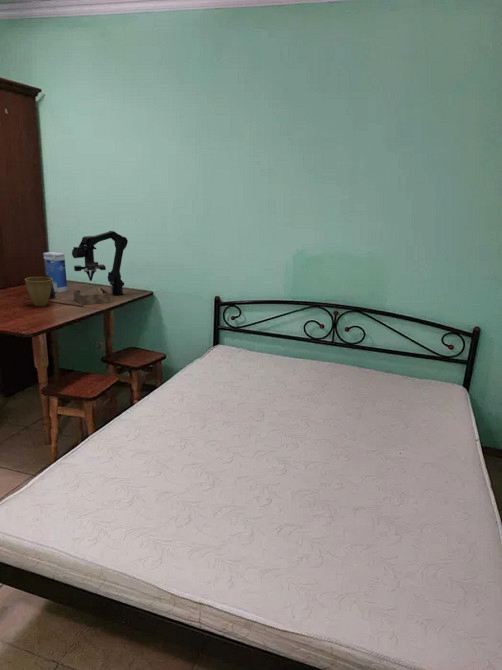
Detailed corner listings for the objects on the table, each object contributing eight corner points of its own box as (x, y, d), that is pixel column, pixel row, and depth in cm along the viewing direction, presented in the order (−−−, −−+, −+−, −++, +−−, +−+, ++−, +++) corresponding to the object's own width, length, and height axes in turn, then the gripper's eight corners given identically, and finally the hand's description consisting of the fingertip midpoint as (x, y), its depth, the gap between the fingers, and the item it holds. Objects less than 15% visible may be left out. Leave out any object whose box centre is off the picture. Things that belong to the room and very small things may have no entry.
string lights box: (67, 291, 323) (65, 253, 315) (58, 292, 317) (55, 254, 309) (55, 288, 330) (52, 251, 322) (46, 290, 323) (42, 252, 316)
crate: (101, 297, 311) (101, 288, 309) (110, 302, 298) (110, 292, 297) (74, 299, 300) (73, 290, 298) (82, 305, 288) (81, 295, 286)
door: (98, 296, 309) (97, 288, 308) (99, 296, 310) (99, 288, 308) (101, 301, 299) (100, 292, 297) (103, 301, 299) (102, 292, 297)
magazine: (58, 296, 299) (46, 275, 295) (40, 304, 301) (28, 283, 296) (60, 295, 303) (48, 274, 299) (42, 303, 304) (30, 282, 300)
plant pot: (28, 308, 275) (25, 281, 270) (27, 302, 288) (24, 277, 283) (55, 306, 282) (53, 280, 277) (53, 301, 294) (50, 276, 290)
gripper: (75, 259, 285) (77, 284, 290) (106, 258, 293) (108, 282, 298) (73, 256, 295) (74, 280, 299) (103, 255, 303) (104, 279, 308)
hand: (90, 281), depth 301 cm, fingers closed
